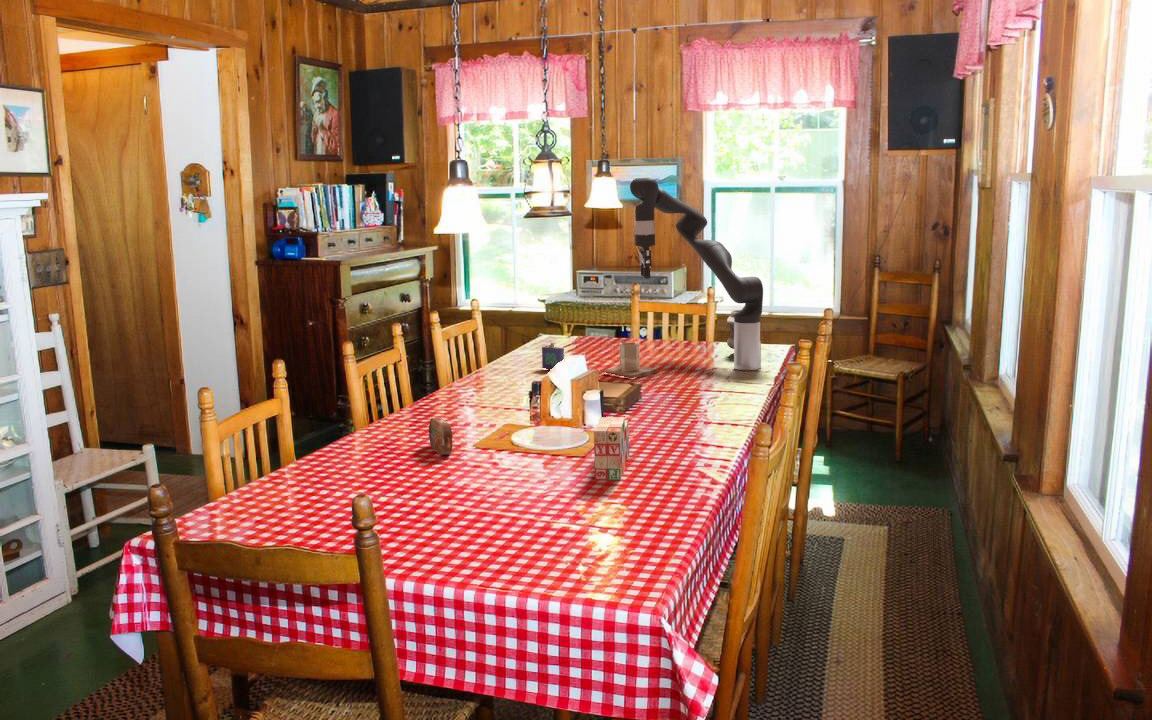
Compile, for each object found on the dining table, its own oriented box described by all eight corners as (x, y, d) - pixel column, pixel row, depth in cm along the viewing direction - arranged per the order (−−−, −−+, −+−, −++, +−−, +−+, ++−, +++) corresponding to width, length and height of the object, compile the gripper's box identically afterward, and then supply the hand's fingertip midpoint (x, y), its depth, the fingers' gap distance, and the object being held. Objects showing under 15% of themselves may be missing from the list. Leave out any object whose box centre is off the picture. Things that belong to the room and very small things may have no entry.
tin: (428, 445, 254) (426, 415, 252) (439, 443, 255) (438, 413, 253) (443, 459, 240) (441, 427, 239) (455, 457, 241) (453, 426, 240)
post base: (627, 368, 347) (627, 343, 345) (656, 373, 337) (656, 347, 335) (602, 374, 337) (601, 348, 335) (631, 379, 327) (631, 353, 326)
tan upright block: (619, 368, 339) (619, 343, 337) (637, 368, 340) (636, 342, 338) (622, 371, 334) (621, 345, 333) (639, 370, 335) (639, 344, 333)
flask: (565, 370, 346) (564, 342, 344) (561, 372, 344) (560, 343, 342) (544, 369, 351) (543, 340, 349) (540, 370, 348) (539, 342, 346)
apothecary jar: (735, 352, 372) (735, 307, 368) (763, 355, 365) (764, 309, 361) (721, 357, 362) (721, 311, 359) (750, 360, 355) (750, 313, 352)
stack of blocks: (605, 454, 241) (604, 407, 239) (629, 454, 240) (628, 407, 238) (594, 480, 220) (593, 430, 218) (621, 481, 219) (620, 430, 217)
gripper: (632, 232, 351) (633, 275, 354) (637, 234, 337) (638, 279, 340) (652, 231, 351) (652, 274, 354) (658, 233, 337) (658, 278, 340)
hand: (645, 277), depth 347 cm, fingers open, 8 cm apart
